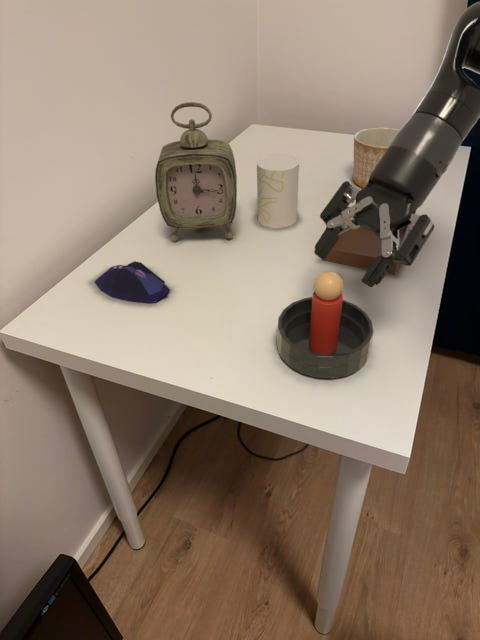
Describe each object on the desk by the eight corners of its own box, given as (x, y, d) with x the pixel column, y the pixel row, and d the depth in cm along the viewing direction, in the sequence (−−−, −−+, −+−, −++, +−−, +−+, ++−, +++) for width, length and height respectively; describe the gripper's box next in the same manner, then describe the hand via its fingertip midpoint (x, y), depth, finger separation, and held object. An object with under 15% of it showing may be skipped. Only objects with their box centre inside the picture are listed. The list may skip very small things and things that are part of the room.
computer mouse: (122, 261, 90) (117, 242, 88) (186, 283, 84) (183, 264, 81) (85, 287, 84) (80, 267, 82) (151, 312, 78) (147, 292, 75)
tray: (346, 218, 100) (347, 206, 98) (411, 229, 96) (414, 217, 94) (321, 260, 88) (322, 247, 87) (395, 274, 84) (397, 262, 82)
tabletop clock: (164, 246, 94) (143, 111, 78) (169, 224, 101) (150, 96, 85) (239, 243, 94) (232, 108, 78) (238, 221, 101) (233, 92, 85)
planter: (339, 185, 113) (343, 139, 106) (365, 167, 120) (371, 124, 113) (389, 198, 106) (397, 151, 100) (414, 179, 113) (423, 134, 107)
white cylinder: (249, 217, 102) (248, 161, 94) (279, 206, 105) (279, 151, 98) (275, 232, 97) (275, 174, 89) (304, 219, 100) (307, 162, 93)
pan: (348, 313, 76) (351, 290, 73) (384, 371, 66) (389, 347, 63) (268, 327, 74) (268, 303, 71) (292, 388, 64) (293, 364, 61)
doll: (331, 334, 72) (339, 263, 64) (341, 352, 68) (350, 280, 61) (305, 338, 71) (309, 267, 63) (314, 357, 68) (320, 285, 60)
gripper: (360, 130, 63) (290, 238, 65) (457, 162, 54) (372, 285, 56) (381, 160, 68) (316, 258, 70) (472, 193, 59) (395, 304, 61)
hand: (341, 270), depth 63 cm, fingers open, 8 cm apart
